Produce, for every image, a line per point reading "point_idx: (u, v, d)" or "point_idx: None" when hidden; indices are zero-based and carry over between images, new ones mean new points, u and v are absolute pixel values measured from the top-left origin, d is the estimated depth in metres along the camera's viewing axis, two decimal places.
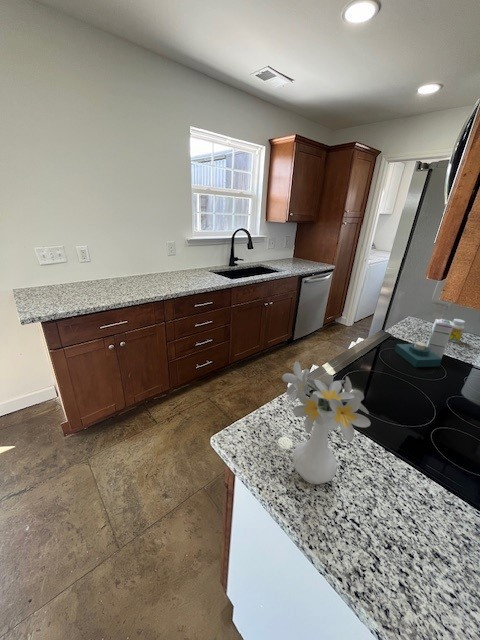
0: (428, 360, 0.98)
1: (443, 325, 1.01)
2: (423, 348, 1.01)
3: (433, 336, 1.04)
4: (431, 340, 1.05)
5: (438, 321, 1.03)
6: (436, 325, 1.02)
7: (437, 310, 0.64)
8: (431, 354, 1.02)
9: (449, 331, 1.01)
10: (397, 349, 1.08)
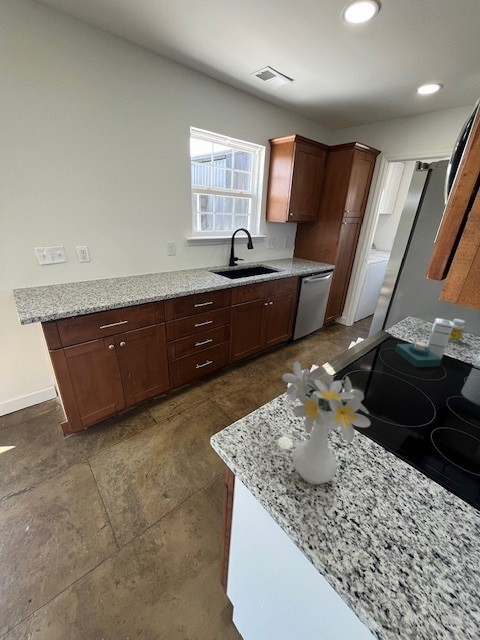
0: (428, 360, 0.98)
1: (443, 325, 1.01)
2: (423, 348, 1.01)
3: (433, 336, 1.04)
4: (431, 340, 1.05)
5: (438, 321, 1.03)
6: (436, 325, 1.02)
7: None
8: (431, 354, 1.02)
9: (449, 331, 1.01)
10: (397, 349, 1.08)
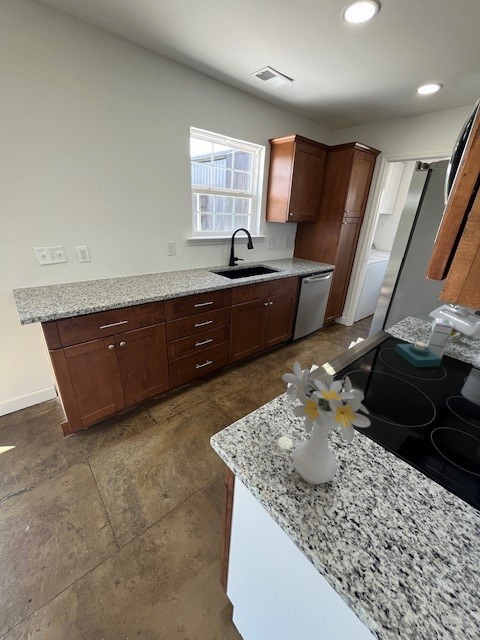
0: (428, 360, 0.98)
1: (442, 325, 1.01)
2: (423, 348, 1.01)
3: (433, 336, 1.04)
4: (431, 340, 1.05)
5: (438, 321, 1.03)
6: (436, 325, 1.02)
7: None
8: (431, 354, 1.02)
9: (449, 331, 1.01)
10: (397, 349, 1.08)
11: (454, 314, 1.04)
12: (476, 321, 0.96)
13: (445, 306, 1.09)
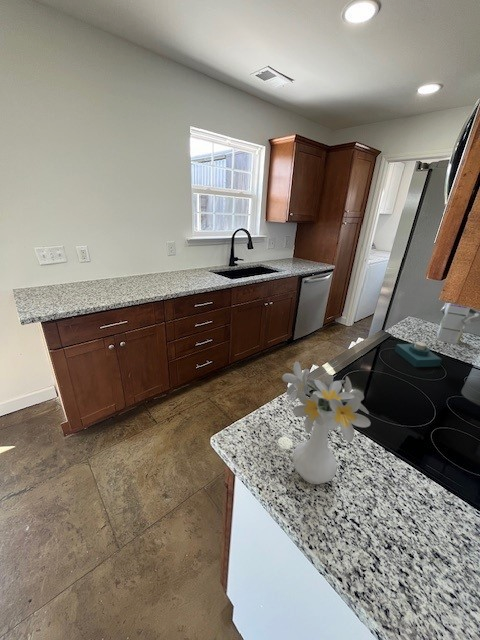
0: (428, 360, 0.98)
1: None
2: (423, 348, 1.01)
3: (447, 318, 0.90)
4: (444, 323, 0.91)
5: None
6: (450, 305, 0.88)
7: None
8: (431, 354, 1.02)
9: (466, 312, 0.87)
10: (397, 349, 1.08)
11: None
12: None
13: None
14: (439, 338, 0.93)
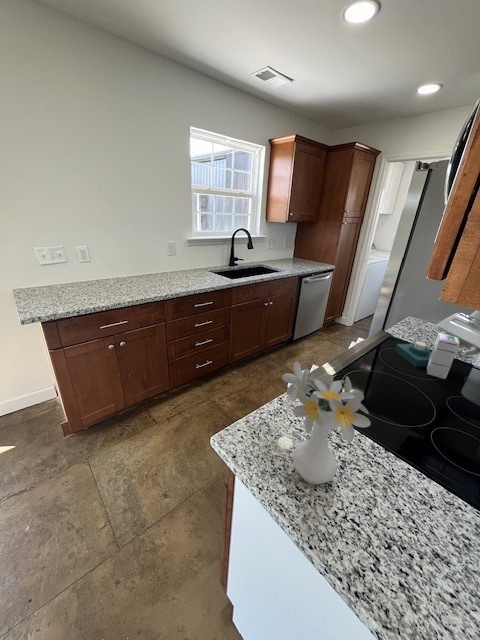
0: (428, 360, 0.98)
1: (447, 342, 0.88)
2: (423, 348, 1.01)
3: (436, 354, 0.91)
4: (434, 358, 0.92)
5: (442, 337, 0.90)
6: (439, 342, 0.90)
7: None
8: None
9: (454, 349, 0.88)
10: (397, 349, 1.08)
11: (467, 325, 0.91)
12: None
13: (456, 315, 0.96)
14: (429, 372, 0.94)
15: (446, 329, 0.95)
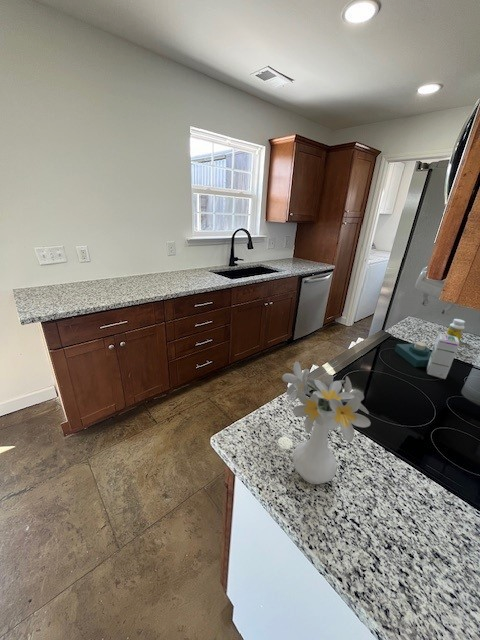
0: (428, 360, 0.98)
1: (447, 342, 0.88)
2: (423, 348, 1.01)
3: (436, 354, 0.91)
4: (434, 358, 0.92)
5: (442, 337, 0.90)
6: (439, 342, 0.90)
7: None
8: None
9: (454, 349, 0.88)
10: (397, 349, 1.08)
11: (435, 281, 0.93)
12: None
13: (423, 273, 0.97)
14: (429, 372, 0.94)
15: (422, 291, 0.98)
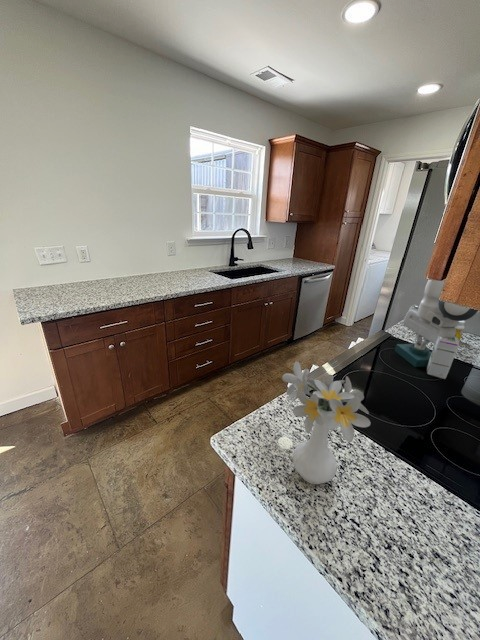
0: (428, 360, 0.98)
1: (447, 342, 0.88)
2: None
3: (436, 354, 0.91)
4: (434, 358, 0.92)
5: None
6: (439, 342, 0.90)
7: None
8: None
9: (454, 349, 0.88)
10: (397, 349, 1.08)
11: (420, 321, 1.00)
12: (438, 329, 0.92)
13: (410, 311, 1.05)
14: (429, 372, 0.94)
15: (410, 328, 1.05)
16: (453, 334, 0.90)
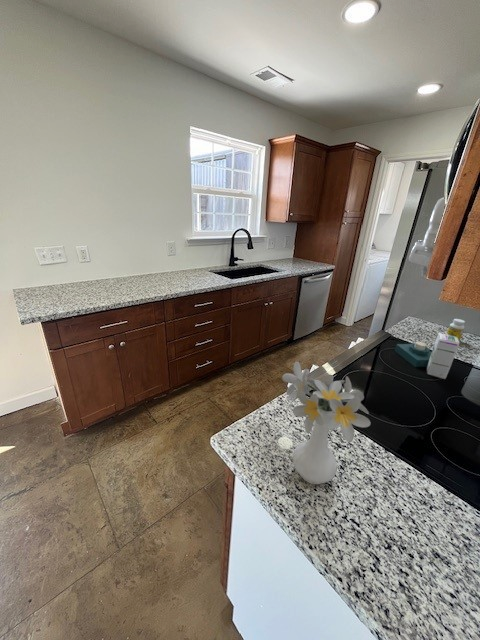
0: (428, 360, 0.98)
1: (447, 342, 0.88)
2: (423, 348, 1.01)
3: (436, 354, 0.91)
4: (434, 358, 0.92)
5: (442, 337, 0.90)
6: (439, 342, 0.90)
7: None
8: None
9: (454, 349, 0.88)
10: (397, 349, 1.08)
11: (426, 252, 1.02)
12: None
13: (416, 246, 1.07)
14: (429, 372, 0.94)
15: (415, 262, 1.07)
16: None
